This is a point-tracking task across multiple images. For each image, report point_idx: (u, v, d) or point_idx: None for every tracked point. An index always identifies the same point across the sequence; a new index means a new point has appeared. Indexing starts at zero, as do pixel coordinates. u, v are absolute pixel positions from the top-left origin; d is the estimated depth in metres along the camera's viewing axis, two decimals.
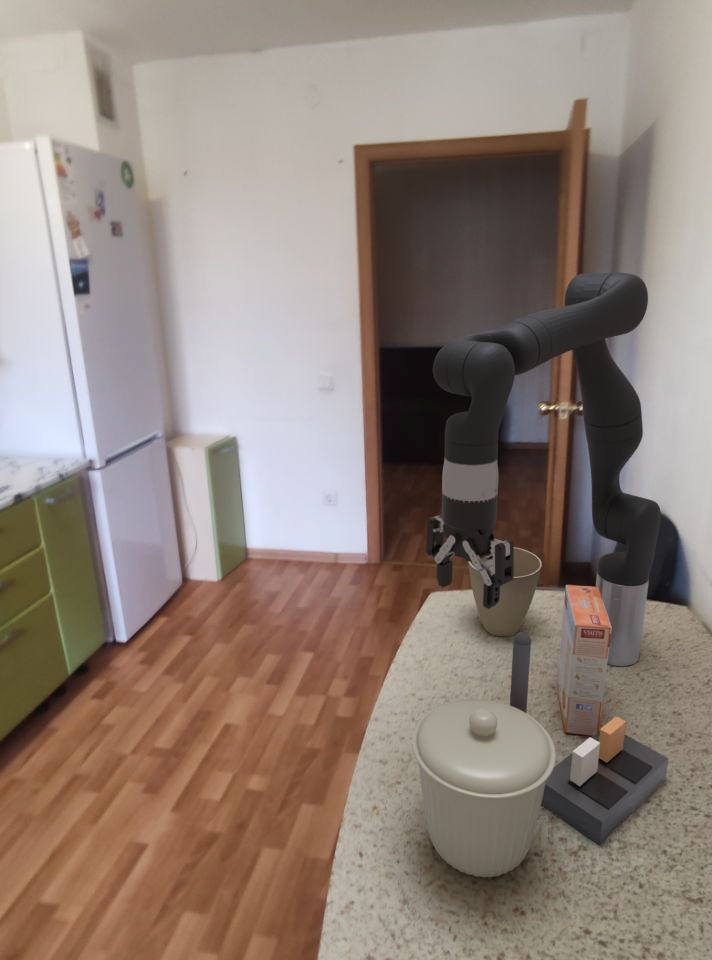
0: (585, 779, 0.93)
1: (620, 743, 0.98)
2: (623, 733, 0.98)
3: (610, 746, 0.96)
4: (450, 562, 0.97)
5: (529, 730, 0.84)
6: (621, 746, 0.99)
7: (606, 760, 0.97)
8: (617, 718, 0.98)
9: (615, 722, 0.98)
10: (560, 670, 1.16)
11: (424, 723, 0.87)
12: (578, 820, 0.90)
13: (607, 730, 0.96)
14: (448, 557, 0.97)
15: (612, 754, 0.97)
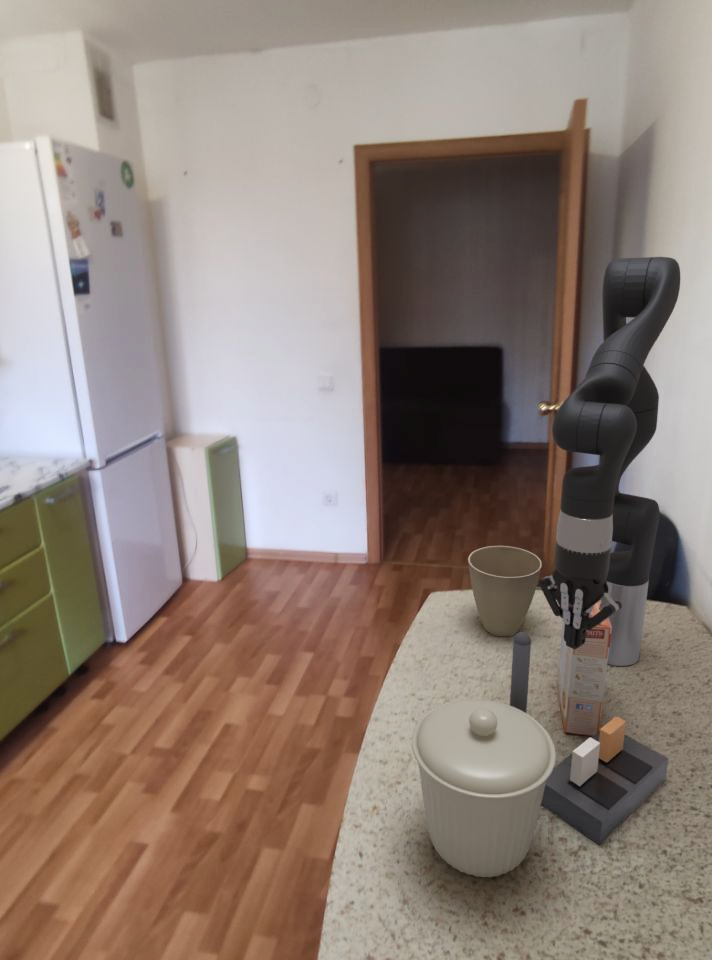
0: (585, 779, 0.93)
1: (620, 743, 0.98)
2: (623, 733, 0.98)
3: (610, 746, 0.96)
4: None
5: (529, 730, 0.84)
6: (621, 746, 0.99)
7: (606, 760, 0.97)
8: (617, 718, 0.98)
9: (615, 722, 0.98)
10: (560, 670, 1.16)
11: (424, 723, 0.87)
12: (578, 820, 0.90)
13: (607, 730, 0.96)
14: None
15: (612, 754, 0.97)
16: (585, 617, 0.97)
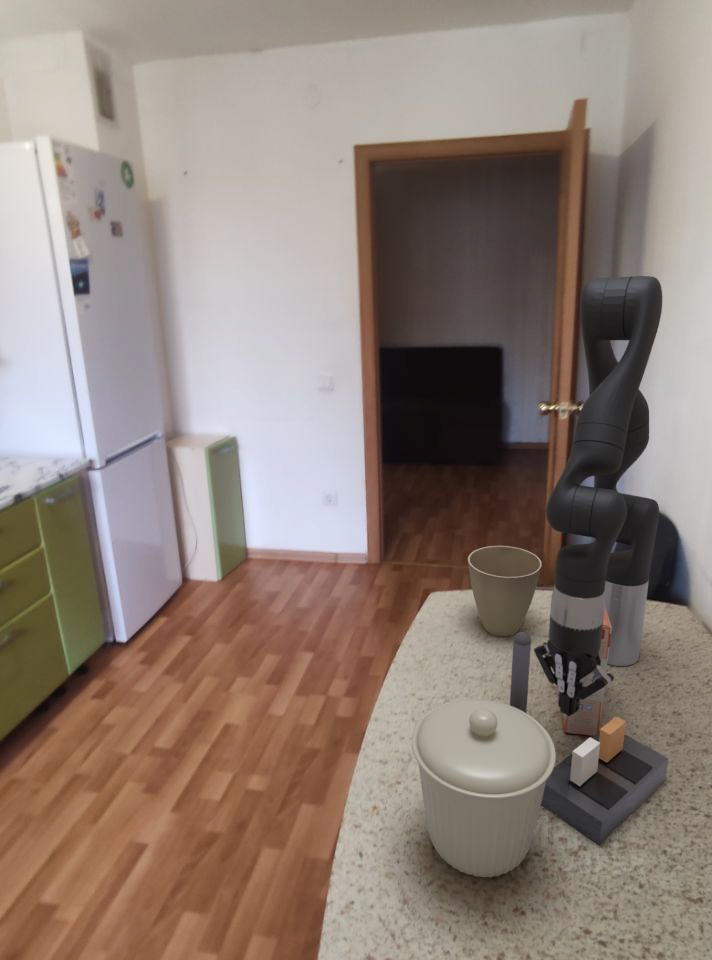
0: (585, 779, 0.93)
1: (620, 743, 0.98)
2: (623, 733, 0.98)
3: (610, 746, 0.96)
4: None
5: (529, 730, 0.84)
6: (621, 746, 0.99)
7: (606, 760, 0.97)
8: (617, 718, 0.98)
9: (615, 722, 0.98)
10: None
11: (424, 723, 0.87)
12: (578, 820, 0.90)
13: (607, 730, 0.96)
14: None
15: (612, 754, 0.97)
16: (579, 686, 1.01)
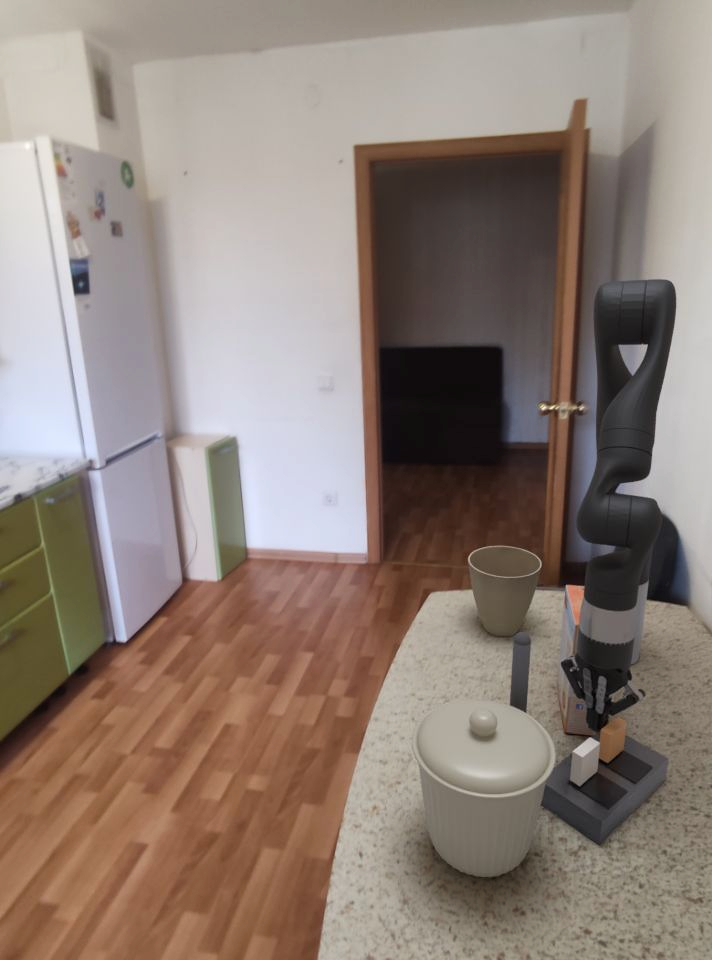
0: (585, 779, 0.93)
1: (620, 744, 0.98)
2: (624, 733, 0.98)
3: (610, 746, 0.96)
4: None
5: (529, 730, 0.84)
6: (622, 746, 0.99)
7: (607, 760, 0.97)
8: (618, 718, 0.98)
9: (616, 722, 0.97)
10: (560, 670, 1.16)
11: (424, 723, 0.87)
12: (578, 820, 0.90)
13: (608, 730, 0.96)
14: None
15: (613, 754, 0.97)
16: (608, 701, 0.97)
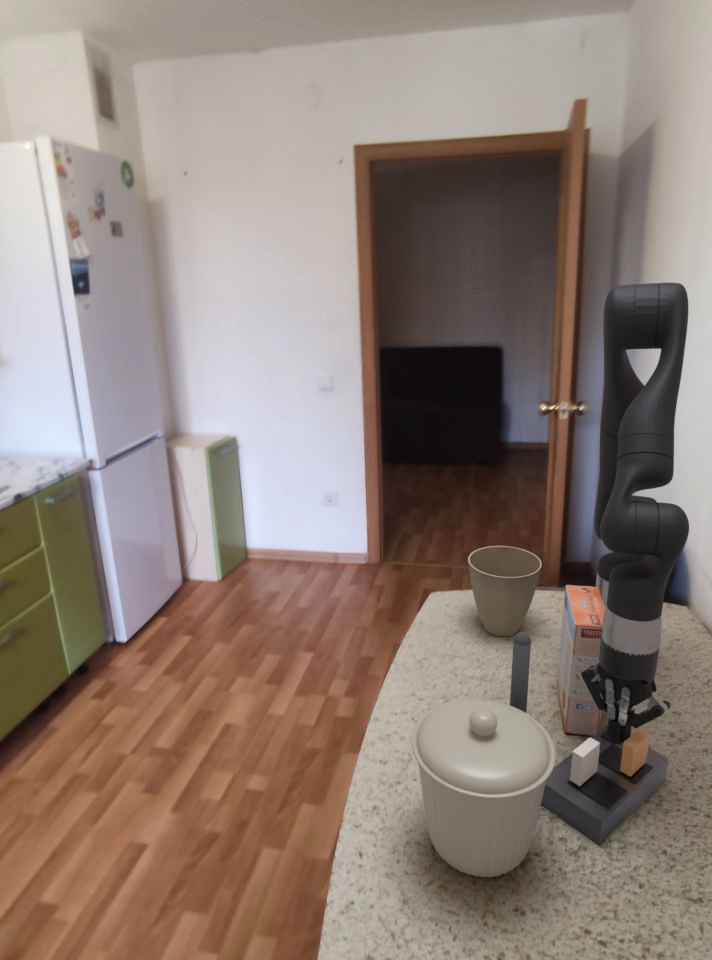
0: (585, 779, 0.93)
1: (643, 757, 0.95)
2: (647, 746, 0.95)
3: (634, 759, 0.93)
4: None
5: (529, 730, 0.84)
6: (644, 759, 0.96)
7: (629, 774, 0.94)
8: (640, 731, 0.96)
9: (638, 735, 0.95)
10: (560, 670, 1.16)
11: (424, 723, 0.87)
12: (578, 820, 0.90)
13: (631, 743, 0.93)
14: (620, 709, 0.96)
15: (636, 768, 0.95)
16: (630, 713, 0.95)
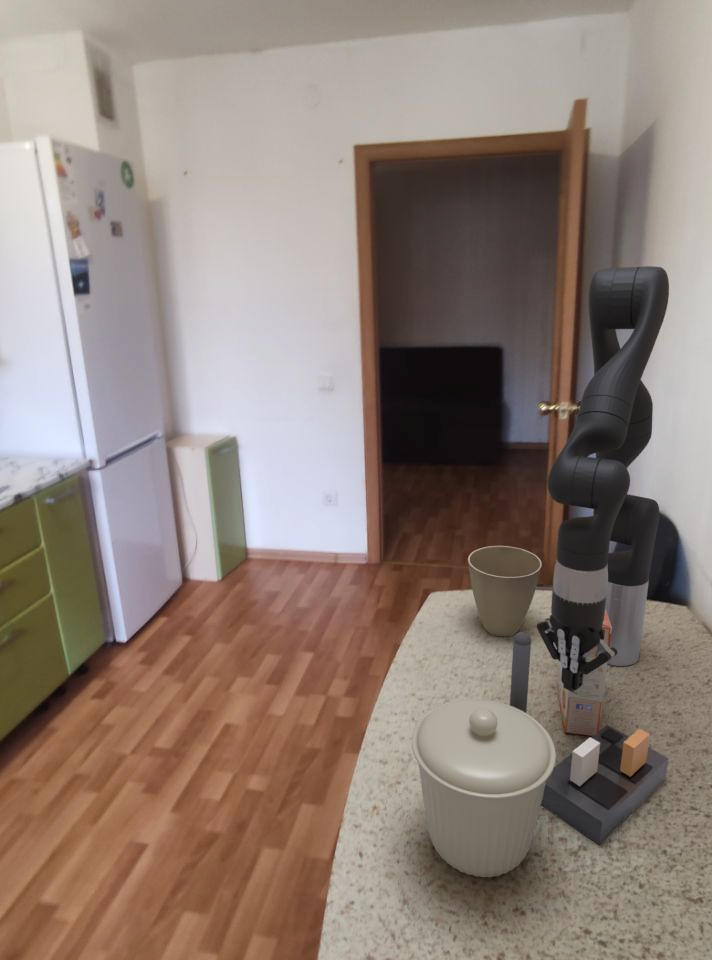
0: (585, 779, 0.93)
1: (643, 757, 0.95)
2: (647, 746, 0.95)
3: (634, 759, 0.93)
4: None
5: (529, 730, 0.84)
6: (644, 759, 0.96)
7: (630, 774, 0.94)
8: (640, 731, 0.96)
9: (638, 735, 0.95)
10: (560, 670, 1.16)
11: (424, 723, 0.87)
12: (578, 820, 0.90)
13: (631, 743, 0.93)
14: None
15: (636, 768, 0.95)
16: (582, 661, 1.00)
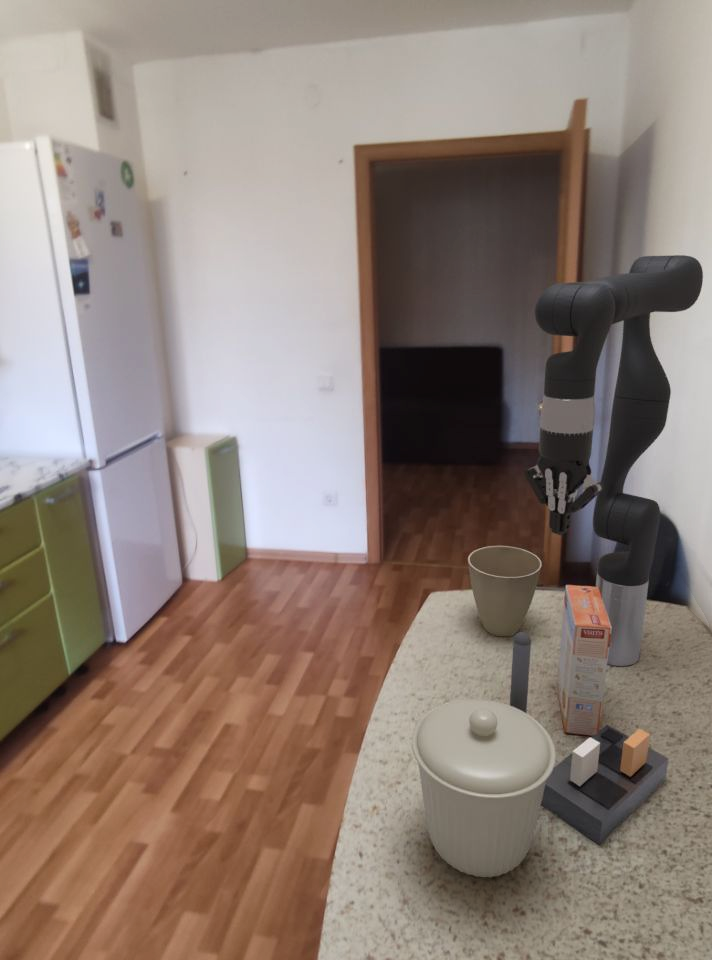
0: (585, 779, 0.93)
1: (643, 757, 0.95)
2: (647, 746, 0.95)
3: (634, 759, 0.93)
4: None
5: (529, 730, 0.84)
6: (644, 759, 0.96)
7: (630, 774, 0.94)
8: (640, 731, 0.96)
9: (638, 735, 0.95)
10: (560, 670, 1.16)
11: (424, 723, 0.87)
12: (578, 820, 0.90)
13: (631, 743, 0.93)
14: None
15: (636, 768, 0.95)
16: (569, 502, 1.00)
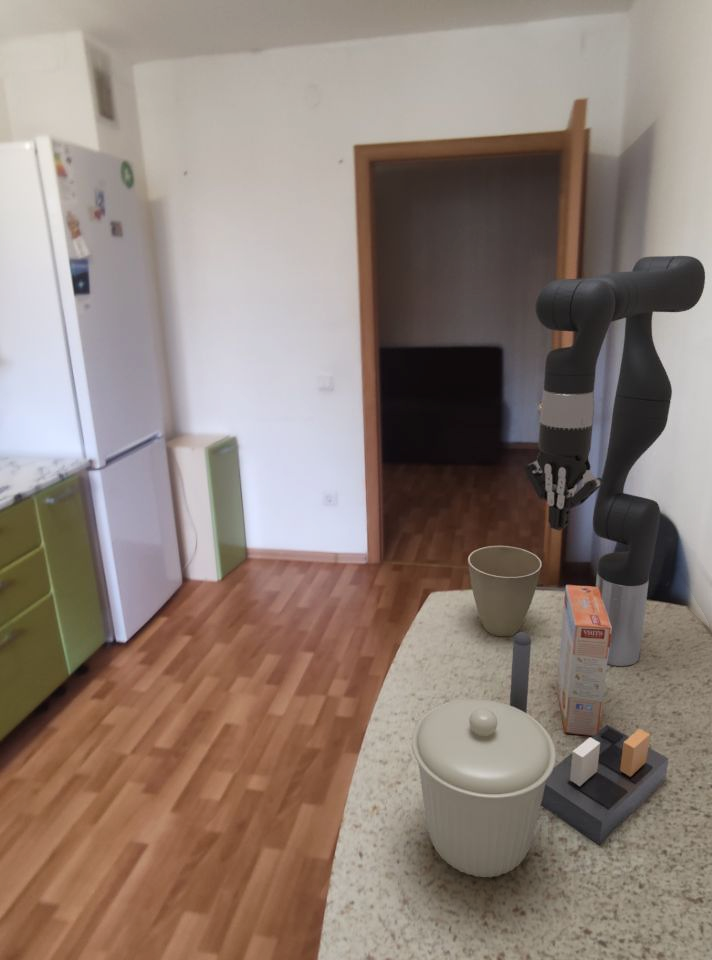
0: (585, 779, 0.93)
1: (643, 757, 0.95)
2: (647, 746, 0.95)
3: (634, 759, 0.93)
4: None
5: (529, 730, 0.84)
6: (644, 759, 0.96)
7: (630, 774, 0.94)
8: (640, 731, 0.96)
9: (638, 735, 0.95)
10: (560, 670, 1.16)
11: (424, 723, 0.87)
12: (578, 820, 0.90)
13: (631, 743, 0.93)
14: None
15: (636, 768, 0.95)
16: (568, 498, 1.01)
